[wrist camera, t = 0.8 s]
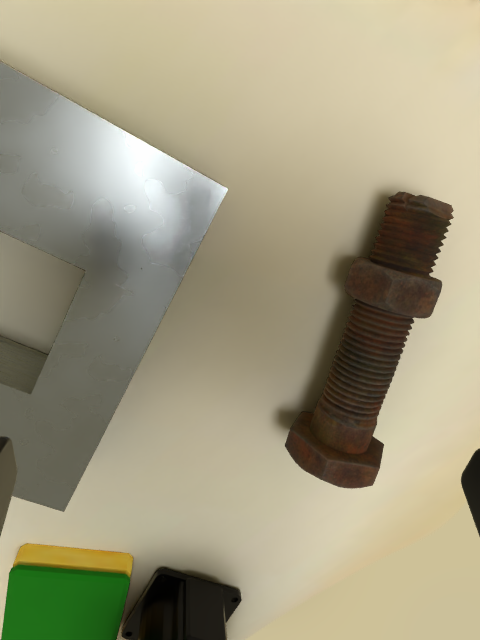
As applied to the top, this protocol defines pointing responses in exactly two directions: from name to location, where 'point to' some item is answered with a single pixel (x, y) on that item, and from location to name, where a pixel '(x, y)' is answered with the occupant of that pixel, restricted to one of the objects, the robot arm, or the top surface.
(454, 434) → the top surface
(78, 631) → the dish sponge
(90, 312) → the hole plate
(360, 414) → the bolt
